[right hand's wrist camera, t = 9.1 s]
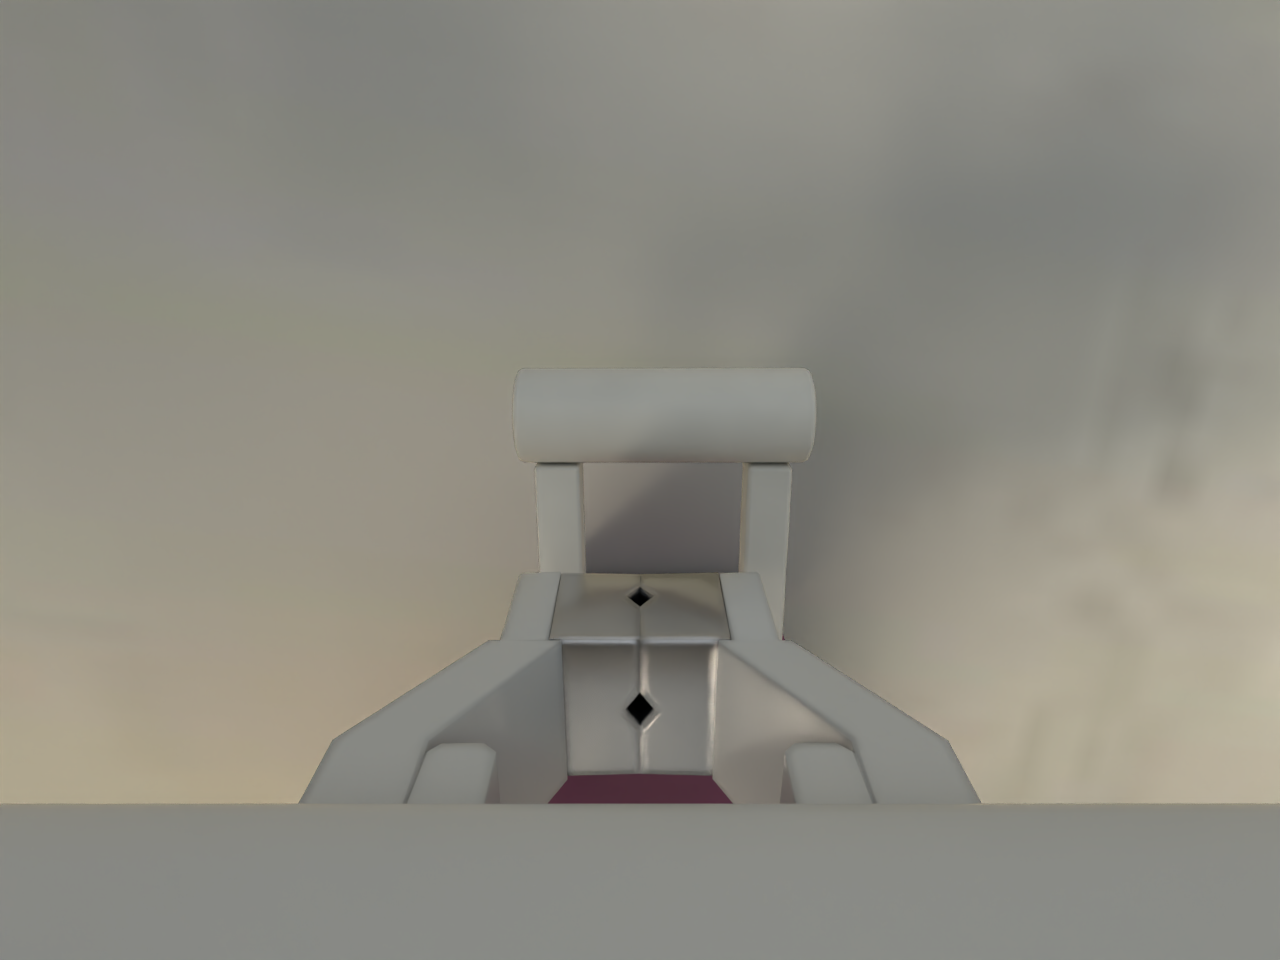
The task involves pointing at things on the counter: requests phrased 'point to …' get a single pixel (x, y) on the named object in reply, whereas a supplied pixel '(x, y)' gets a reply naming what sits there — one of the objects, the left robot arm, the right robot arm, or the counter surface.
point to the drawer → (663, 432)
